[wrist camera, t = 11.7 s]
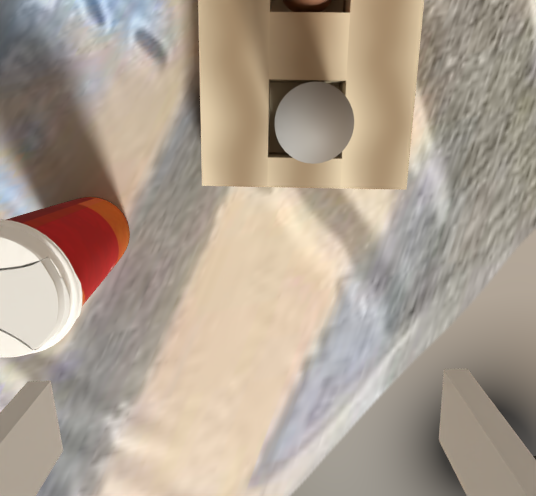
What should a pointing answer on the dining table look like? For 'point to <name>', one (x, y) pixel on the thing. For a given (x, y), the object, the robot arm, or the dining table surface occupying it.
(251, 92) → the bore block
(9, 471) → the robot arm
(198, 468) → the dining table surface
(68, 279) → the coffee cup
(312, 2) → the dowel
